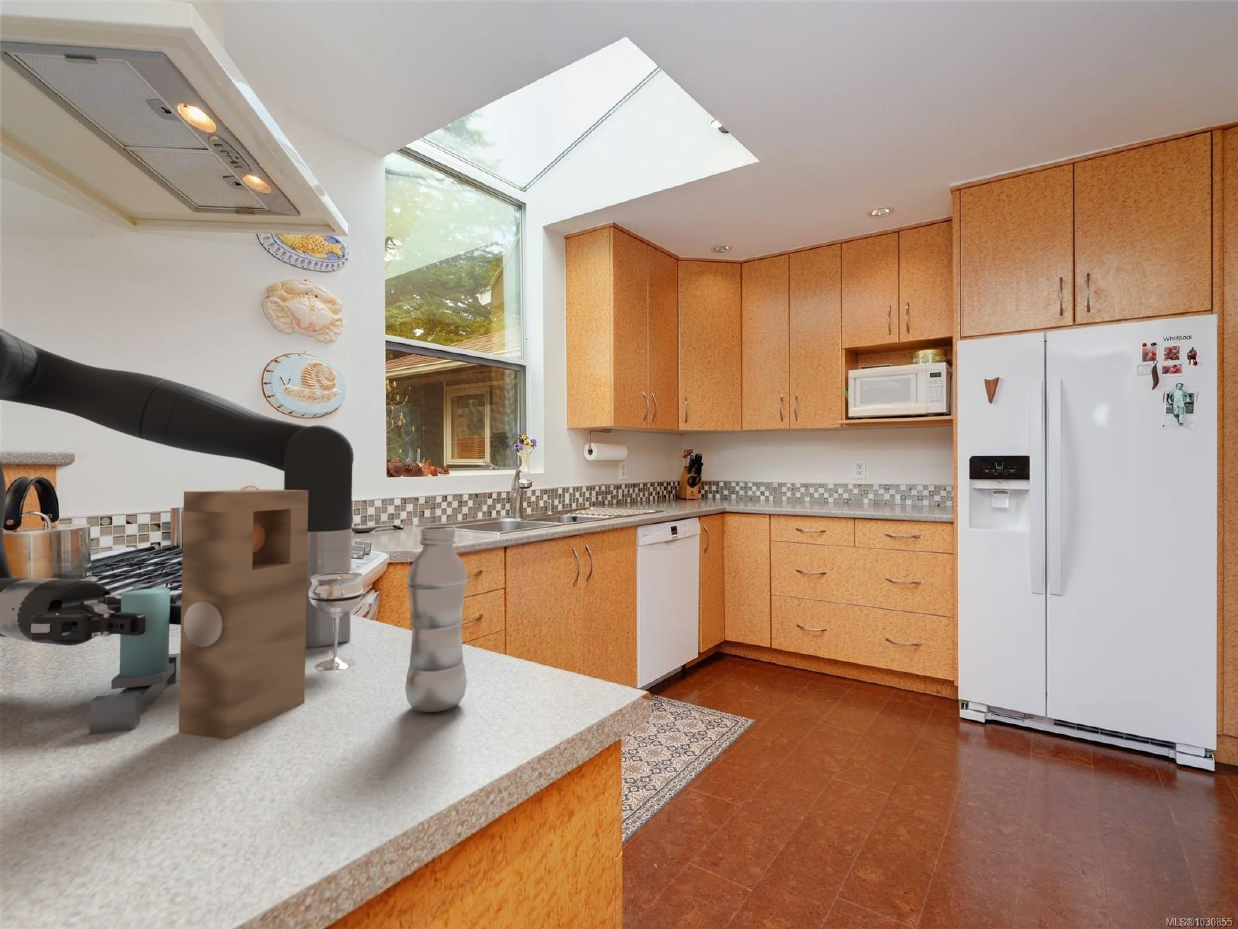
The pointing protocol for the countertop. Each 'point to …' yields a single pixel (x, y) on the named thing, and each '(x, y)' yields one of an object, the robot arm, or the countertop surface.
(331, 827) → the countertop surface
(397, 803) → the countertop surface
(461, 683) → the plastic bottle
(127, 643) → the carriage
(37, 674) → the countertop surface
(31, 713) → the countertop surface
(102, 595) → the robot arm
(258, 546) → the plunger
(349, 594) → the wineglass
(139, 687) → the rail
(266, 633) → the wooden window block
